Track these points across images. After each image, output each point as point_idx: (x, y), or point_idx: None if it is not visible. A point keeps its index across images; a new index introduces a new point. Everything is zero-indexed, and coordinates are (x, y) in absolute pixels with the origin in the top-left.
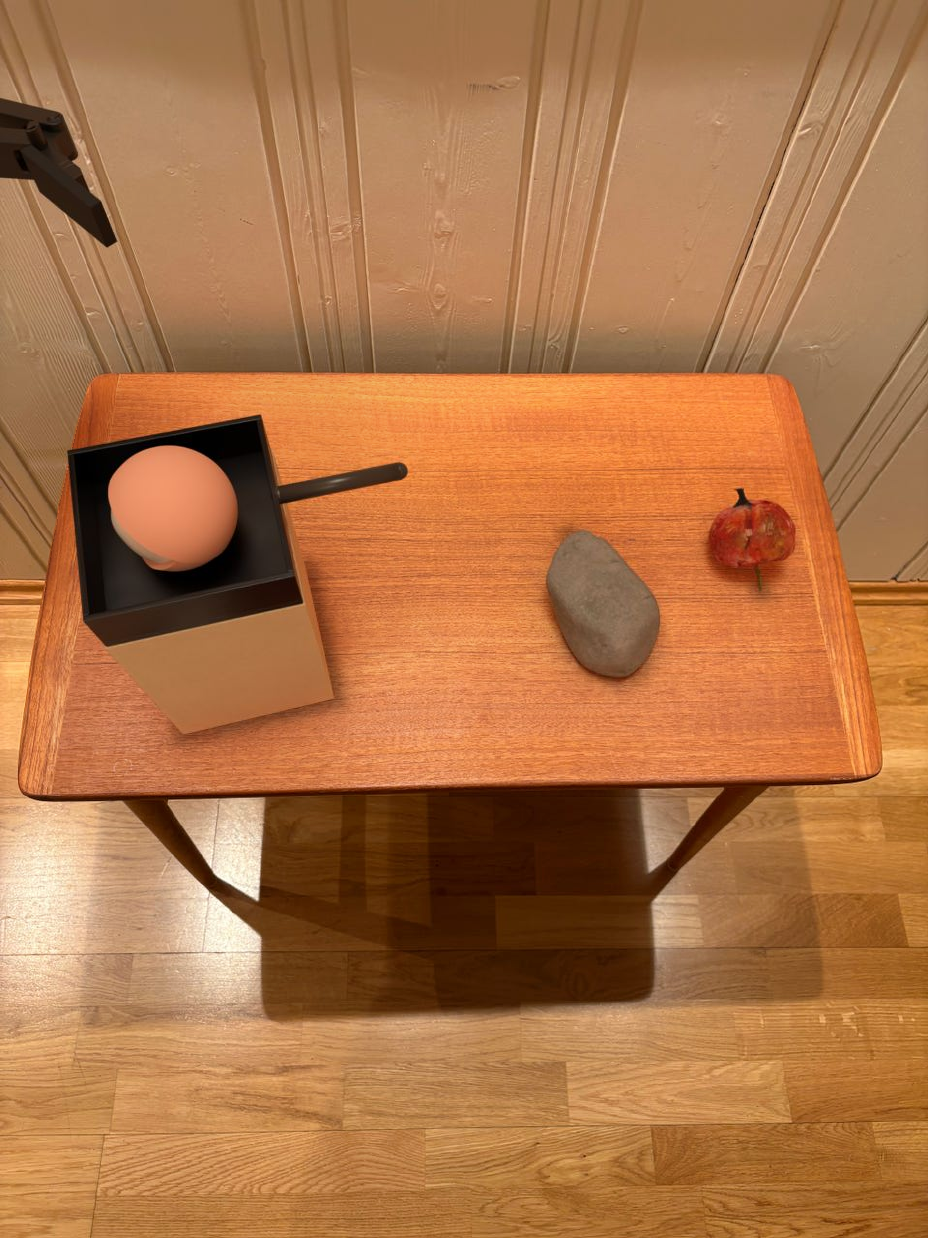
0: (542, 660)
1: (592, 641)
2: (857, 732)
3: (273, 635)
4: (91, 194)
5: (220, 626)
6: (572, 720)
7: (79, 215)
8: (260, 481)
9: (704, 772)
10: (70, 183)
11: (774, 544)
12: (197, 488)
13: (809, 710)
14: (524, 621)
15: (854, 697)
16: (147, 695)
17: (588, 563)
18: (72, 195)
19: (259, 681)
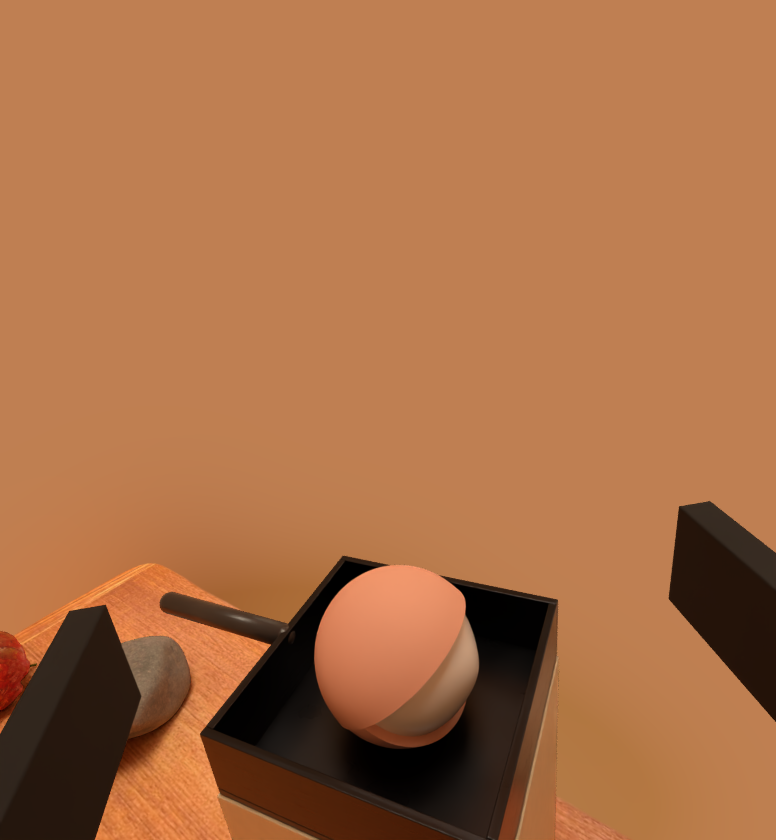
0: (205, 714)
1: (172, 661)
2: (128, 573)
3: None
4: (56, 640)
5: None
6: (239, 663)
7: (99, 738)
8: (276, 739)
9: (214, 597)
10: (37, 702)
11: (2, 633)
12: (360, 575)
13: (128, 593)
14: (178, 755)
15: (103, 586)
16: (556, 767)
17: None
18: (78, 678)
19: None
